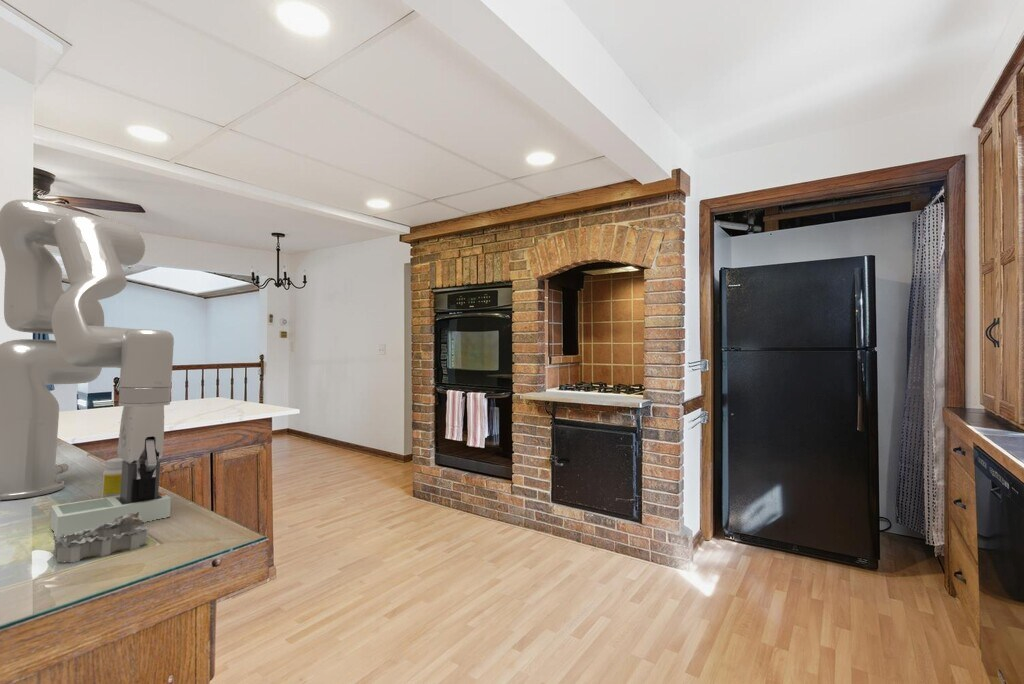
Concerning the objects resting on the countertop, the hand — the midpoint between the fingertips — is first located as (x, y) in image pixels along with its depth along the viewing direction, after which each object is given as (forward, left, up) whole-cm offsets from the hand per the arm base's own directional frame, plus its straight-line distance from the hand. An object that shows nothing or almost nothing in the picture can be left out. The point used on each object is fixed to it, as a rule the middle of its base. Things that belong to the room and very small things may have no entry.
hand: (139, 496), depth 86 cm
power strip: (+2, -3, -4) cm, 5 cm away
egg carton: (+15, +3, -4) cm, 16 cm away
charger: (0, 0, -2) cm, 2 cm away
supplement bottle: (-10, -9, -4) cm, 14 cm away
